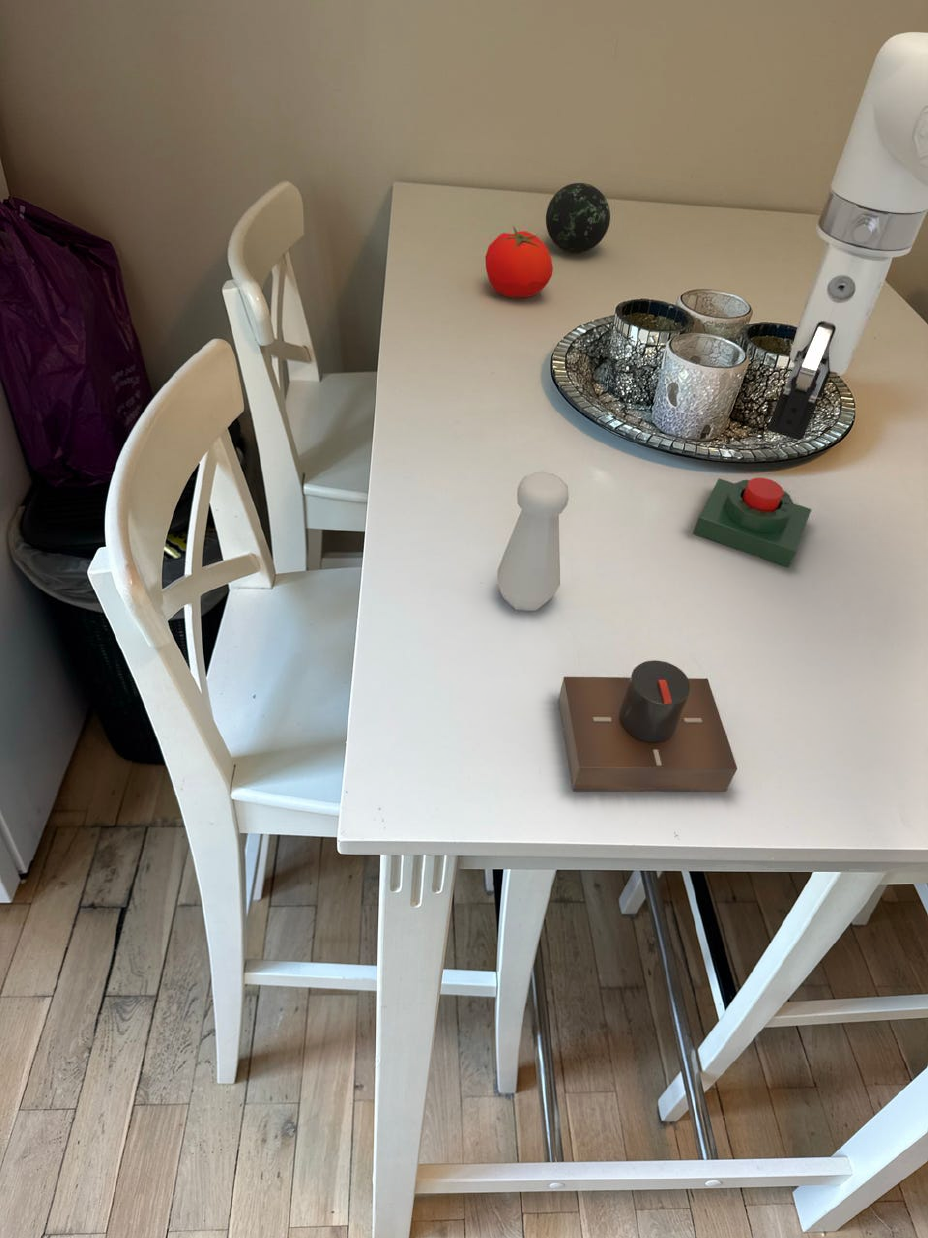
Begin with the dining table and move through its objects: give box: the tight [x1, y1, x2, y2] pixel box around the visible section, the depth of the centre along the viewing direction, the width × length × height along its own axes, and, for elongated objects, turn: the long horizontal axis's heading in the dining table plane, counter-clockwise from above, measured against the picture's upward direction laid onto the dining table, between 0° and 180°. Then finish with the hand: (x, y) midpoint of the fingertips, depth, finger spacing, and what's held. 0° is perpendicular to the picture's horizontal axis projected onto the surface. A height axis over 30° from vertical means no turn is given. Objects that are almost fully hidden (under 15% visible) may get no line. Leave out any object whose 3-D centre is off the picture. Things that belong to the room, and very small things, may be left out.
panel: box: [557, 676, 738, 792], centre depth 69 cm, size 12×9×3 cm
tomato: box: [484, 225, 554, 299], centre depth 126 cm, size 9×10×8 cm
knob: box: [620, 659, 691, 743], centre depth 67 cm, size 4×4×5 cm
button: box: [743, 477, 785, 512], centre depth 89 cm, size 4×4×2 cm
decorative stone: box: [545, 182, 611, 254], centre depth 138 cm, size 10×10×10 cm
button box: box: [692, 478, 812, 568], centre depth 91 cm, size 10×8×4 cm
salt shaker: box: [496, 471, 570, 612], centre depth 77 cm, size 6×6×13 cm
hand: (795, 411), depth 82 cm, fingers open, 8 cm apart
